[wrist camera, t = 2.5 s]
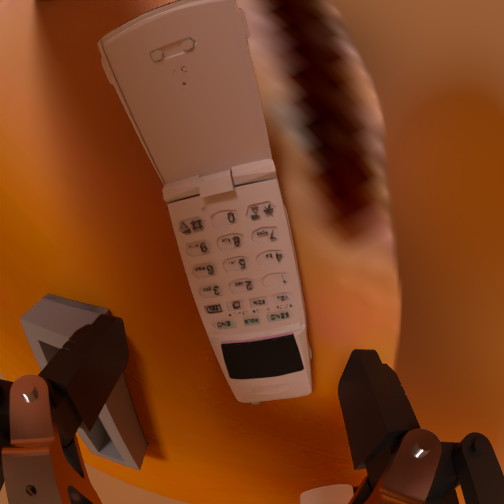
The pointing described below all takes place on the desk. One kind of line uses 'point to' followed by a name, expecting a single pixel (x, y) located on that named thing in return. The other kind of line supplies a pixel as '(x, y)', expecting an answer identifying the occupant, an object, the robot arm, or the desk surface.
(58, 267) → the desk surface
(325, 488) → the cylinder with rectangular tab
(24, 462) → the robot arm
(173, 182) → the mobile phone
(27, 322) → the pen tray
